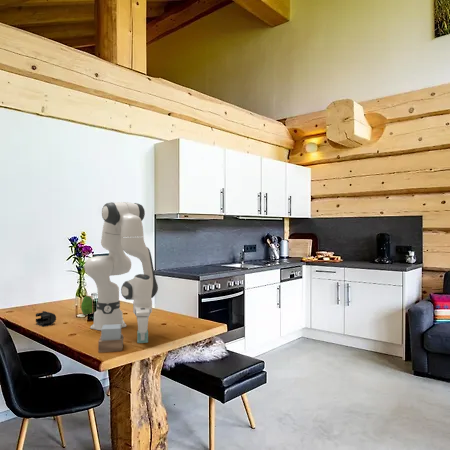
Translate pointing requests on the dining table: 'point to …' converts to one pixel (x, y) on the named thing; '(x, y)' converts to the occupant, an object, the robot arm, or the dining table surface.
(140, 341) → the teal block
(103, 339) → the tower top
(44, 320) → the end cap
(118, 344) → the tower base
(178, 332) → the dining table surface
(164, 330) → the dining table surface
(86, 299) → the avocado
